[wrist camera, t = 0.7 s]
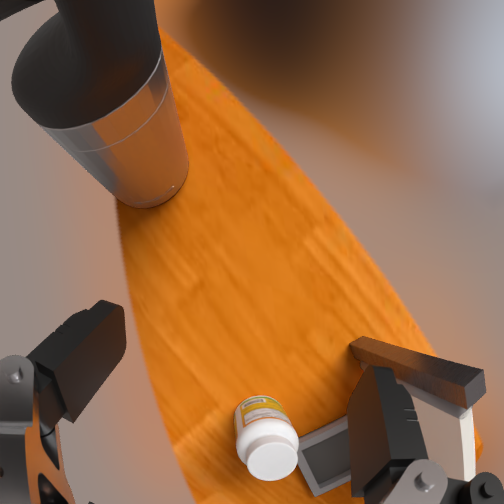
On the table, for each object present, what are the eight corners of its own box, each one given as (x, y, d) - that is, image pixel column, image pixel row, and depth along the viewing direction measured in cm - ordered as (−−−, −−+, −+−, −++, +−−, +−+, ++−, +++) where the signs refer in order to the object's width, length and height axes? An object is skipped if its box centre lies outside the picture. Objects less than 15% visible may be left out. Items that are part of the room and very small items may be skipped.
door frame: (349, 343, 30) (464, 387, 13) (363, 335, 31) (483, 369, 13) (389, 463, 29) (468, 535, 11) (400, 456, 29) (483, 522, 11)
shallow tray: (287, 442, 29) (289, 447, 27) (359, 407, 30) (364, 411, 28) (312, 491, 28) (314, 496, 27) (376, 458, 29) (381, 463, 28)
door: (347, 366, 30) (440, 418, 14) (370, 353, 30) (471, 392, 14) (380, 460, 28) (450, 527, 13) (399, 448, 29) (475, 507, 13)
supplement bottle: (266, 444, 28) (282, 494, 19) (223, 424, 28) (224, 473, 19) (294, 407, 29) (320, 449, 20) (250, 385, 29) (262, 424, 19)
